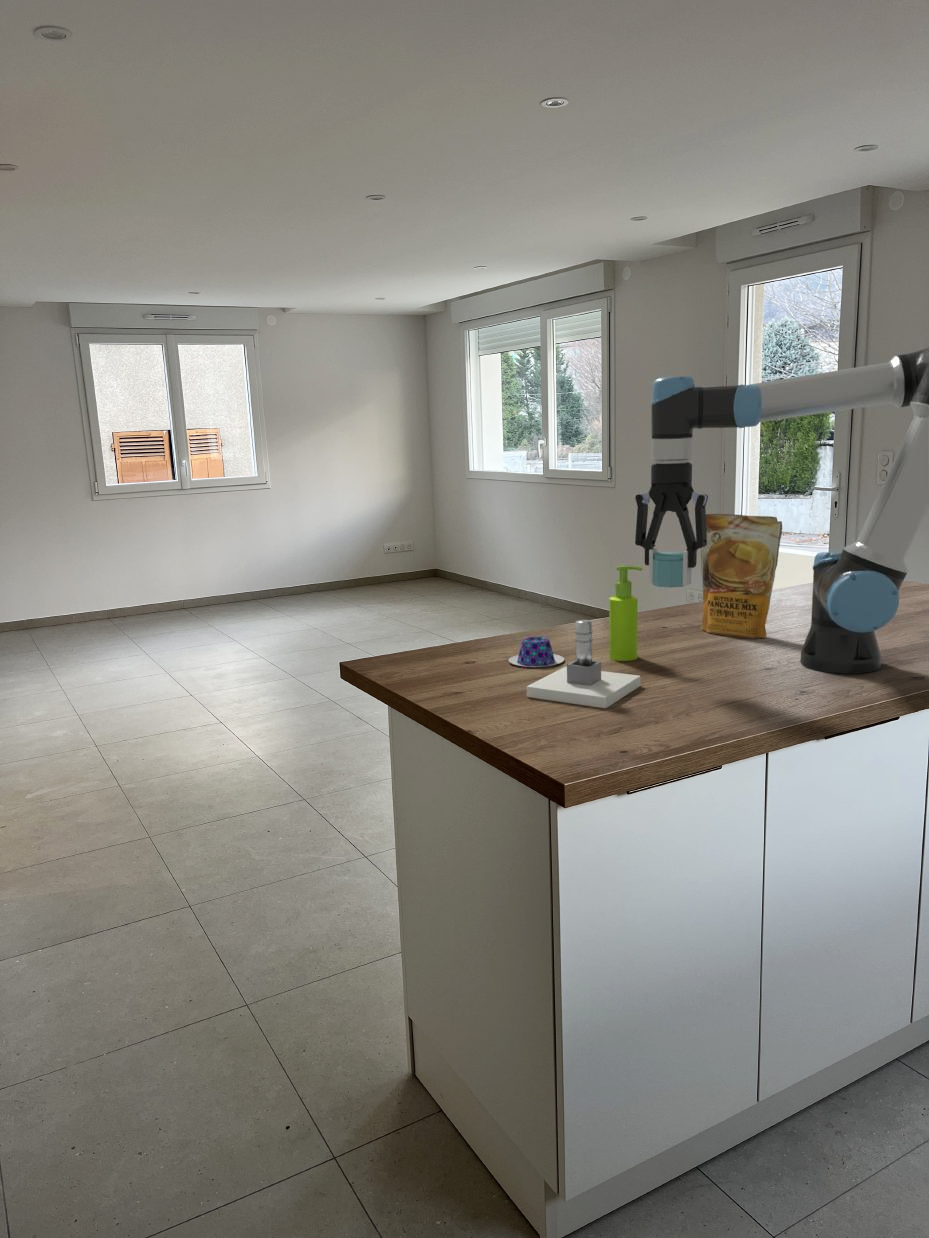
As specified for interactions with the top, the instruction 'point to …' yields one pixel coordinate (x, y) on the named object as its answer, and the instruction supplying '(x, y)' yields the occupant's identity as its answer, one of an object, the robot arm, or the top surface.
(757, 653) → the top surface
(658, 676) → the top surface
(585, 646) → the post
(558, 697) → the post base
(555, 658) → the patterned brimmed hat
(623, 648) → the soap dispenser
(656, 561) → the cap
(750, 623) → the pancake mix bag
